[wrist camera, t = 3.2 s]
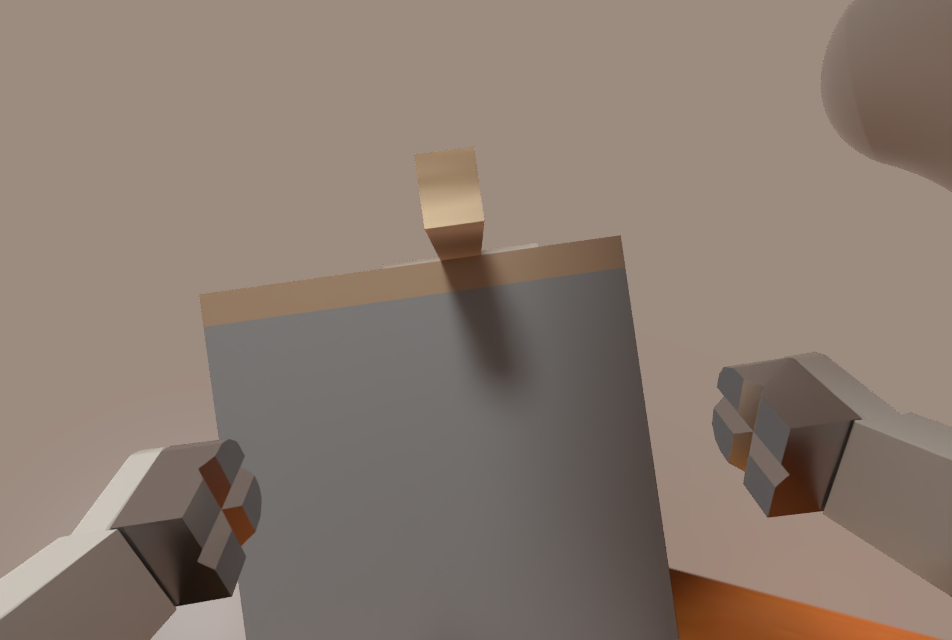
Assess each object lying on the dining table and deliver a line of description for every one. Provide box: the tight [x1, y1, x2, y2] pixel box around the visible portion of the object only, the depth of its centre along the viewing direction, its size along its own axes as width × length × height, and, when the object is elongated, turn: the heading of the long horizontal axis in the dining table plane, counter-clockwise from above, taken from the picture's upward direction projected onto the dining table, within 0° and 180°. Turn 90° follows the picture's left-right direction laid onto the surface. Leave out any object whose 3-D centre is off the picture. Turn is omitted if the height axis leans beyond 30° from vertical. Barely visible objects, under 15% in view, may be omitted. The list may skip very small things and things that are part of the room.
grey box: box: [199, 236, 679, 640], centre depth 32 cm, size 21×16×26 cm
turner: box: [383, 147, 538, 269], centre depth 27 cm, size 22×9×2 cm, turn 1°
